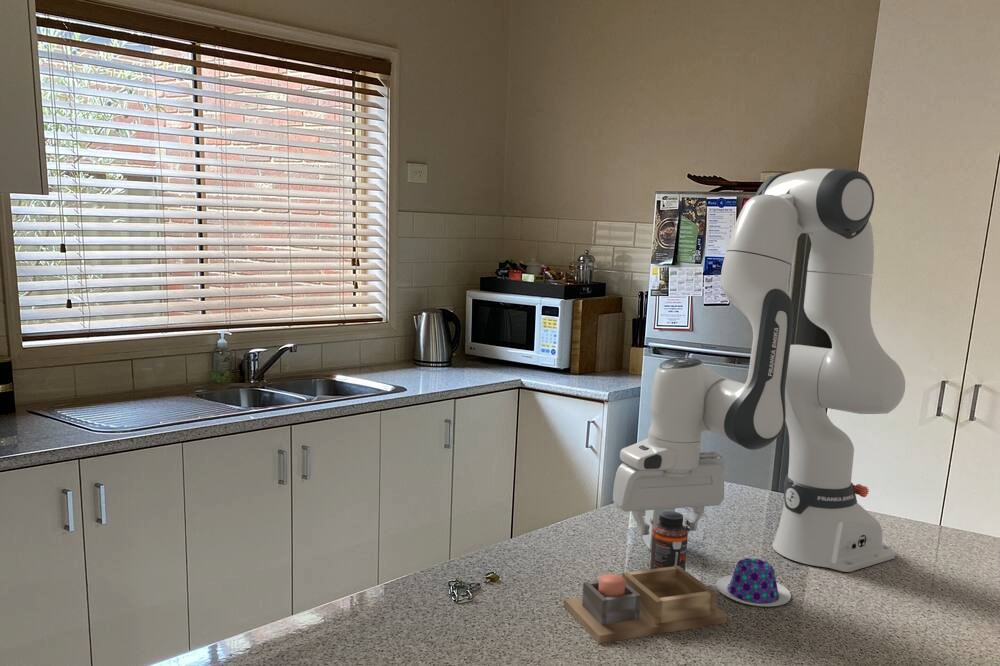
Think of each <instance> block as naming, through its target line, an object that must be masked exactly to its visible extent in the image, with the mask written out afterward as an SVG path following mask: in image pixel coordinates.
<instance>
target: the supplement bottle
mask: <svg viewBox="0 0 1000 666" xmlns="http://www.w3.org/2000/svg"><path fill="white" fill-rule="evenodd" d="M659 521H660V522H659V523H657V524H656V525H655V526H654V527H653V535H652V548H651V550H650V551H651V552H650V565H649V566H650V567H649V569H657V568H665V567H673V566H680V567H681V568H682V569H684V570H685V571H686V565H687V563H686V562H687V550H688V538H689V535H688V534H689V531H687V529H686V528H685V527H684V515H683V514H682V513H680V512H678V511H675V512H674V511H663V512H661V513H660V516H659Z"/></svg>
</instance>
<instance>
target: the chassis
mask: <svg viewBox="0 0 1000 666" xmlns="http://www.w3.org/2000/svg"><path fill="white" fill-rule="evenodd" d="M621 576H622V577H623V578H624V579H625V580H626V582H625V595H620V596H613V597H606V598H605V597H604V596H603V595H602V594H601V593H600V592H599V591H598V589H599V579H598V580H592V581H584V582H583V583H582V585H583V587H582V596H577V597H571V598H570V597H569V598H565V599H564V600H563V608H565V610H566V611H567V612H568V613H569V614H570V613H571V614H572V615H573V616H572V615H571V614H570V615H571V616H572V617H573V618H574V619H575V620H576V621H577V622H578V624H580V625H581V626H582V627H583V629H584V630H586V632H587V633H588V634H589V635H590V636H591V637H592V638H593V639H594V640H595V641H596V642H597V644H604V643H609V642H610V643H611V642H616V641H623V640H629V639H635V638H636V639H637V638H641V637H647V636H654V635H661V634H666V633H672V632H679V631H685V630H690V629H697V628H702V627H709V626H715V625H719V624H721V625H723V624H727V621H728V620H727V619H728V614H726V613H725V612H723V611H722V610H721V609H719V608H718V607H716V603H717V601H716V600H717V592H715V591H714V590H713V589H711V588H710V587H708V586H707V585H706V584H704V583H703V582H702V581H700V580H699V579H697V578H696V577H695V576H694V575H692V574H690V573H689V572H688V571H687V570H686V569H685V570H684V569H682V568H681V567H680V566H673V567H665V568H657V569H650V568H648V569H643V570H634V571H628V572H622V573H621Z"/></svg>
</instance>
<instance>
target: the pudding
mask: <svg viewBox="0 0 1000 666" xmlns="http://www.w3.org/2000/svg"><path fill="white" fill-rule="evenodd" d="M728 584H729V585H728ZM727 586H728V587H727ZM716 588H717V590H718V591H719V592H720V593H721V594H722V595H724V596H725V597H728V598H729V599H731V600H733V601H736V602H739V603H741V604H742V603H743V604H746V605H751V606H756V607H776V606H777V607H778V606H782V605H784V604H787V603H788V602H790V600H791V599H792V594H791V592H790V591H789V589H787V587H785V586H784V585H782V584H781V583H779V582H777V578H776V572H775V569H774V567H773V566H772V565H771V564H770V563H769V562H767V561H765V560H762V559H759V558H751V557H746V558H743V559H740V560H738V561H737V562H736V565H735V568H734V570H733V573H732V574H729V575H725V576H722V577H720V578H718V580H717V581H716ZM776 599H777V600H776Z"/></svg>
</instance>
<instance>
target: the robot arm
mask: <svg viewBox="0 0 1000 666" xmlns="http://www.w3.org/2000/svg"><path fill="white" fill-rule="evenodd" d="M874 204H875V192H874V188H873V187H872V184H871V182H870V179H869V178H868V177H867V175H866V174H864V173H862V172H861V171H859V170H857V169H852V168H848V167H847V168H846V167H838V168H821V167H820V168H808V169H806V170H800V171H795V172H782V173H778V174H776V175H774V176H773V175H772V176H770V177H769V178H767V179H766V180H765V181H763V182H762V183H761V185H760V186H759V187H758V189H757V191H756V193H755V196H752V197H751V198H749V199H748V200H747V201H746V202H745V203H744V204H743V206H742V209H741V210H740V213H739V214H738V217H737V219H736V221H735V224H734V226H733V228H732V232H731V235H730V237H729V240H728V244H727V247H726V250H725V255H724V257H723V262H722V265H721V266H722V267H721V272H720V287H721V289H722V291H723V293H724V295H725V297H726V298H727V299H728V300H729V302H730V303H731V304H732V305H733V306H734V307H735V308H737V309H738V310H739V311H740V312H741V313H743V315H745V317H746V318H747V319H748V321H749V323H750V326H751V328H752V336H753V337H752V344H751V351H750V360H749V365H748V374H747V379H746V381H745V383H744V382H740V381H736V380H734V379H730V378H727V377H725V376H723V375H720V374H719V373H717V372H716V371H713V370H712V369H710V368H709V367H708V366H706V365H705V363H704V362H703V361H702V360H701V359H699V358H694V357H682V356H681V357H675V358H670V359H666V360H664V361H662V362H661V363H660V364H659V365H658V367H657V368H656V371H655V374H654V377H653V381H652V382H653V383H652V388H651V395H650V397H651V398H650V407H649V408H650V416H651V423H650V426H649V428H648V431H647V432H648V433H647V438H645V439H643V440H641V441H639V442H635V443H634V444H631V445H628V446H625V447H623V448H621V449H620V451H619V459H620V460H621V461H622V463H621V464H620V465H619V466H618V467H617V470H616V473H615V478H614V481H613V482H614V483H613V489H612V491H613V492H612V501H613V503H614V505H615V506H616V507H617V508H619V509H620V510H621V511H623V512H625V513H628V512H631V515H632V517H633V519H634V520H635V523H636V528H635V529H636V533H637V534H638V535H639V536H643V535H648V534H649V528H650V525H648V524H646V523H645V522H644V520H645V519H643V517H645V511H646V510H659V509H673V508H675V509H683V508H684V509H685V508H690V509H691V512H690V514H689V516H688V518H683V526H684V527H685V528H686V529H687V531H688V532H696V531H697V530H698V522H699V521H700V519H701V517H702V516H703V515H704V513H705V507H714V506H716V507H717V506H721V504H722V502H723V501H724V500H725V477H724V476H725V475H724V469H725V459H724V457H723V456H722V455H721V454H720V453H718V452H717V451H708V452H706V451H701V446H702V433H703V432H704V431H709V432H711V433H713V434H715V435H716V436H717V435H718V436H720V437H723V438H726V439H728V440H730V441H732V442H734V443H735V444H737V445H739V446H741V447H743V448H744V449H746V450H752V451H754V450H760V449H764V448H765V447H767V446H769V445H770V444H772V443H773V442H774V441H775V440H776V439H777V438H778V437H779V436H780V435H781V433H782V431H783V430H784V427H785V424H786V427H787V432H788V441H789V442H788V443H789V445H788V446H789V451H788V453H789V455H788V456H789V457H788V471H787V474H785V478H784V484H783V485H784V487H783V497H784V501H783V507H782V511H781V515H780V519H779V520H780V521H779V524H778V528H777V530H776V534H775V537H774V539H773V542H772V548H773V550H774V551H775V552H777V554H779V555H781V556H783V558H787V559H789V560H791V561H795V562H798V563H800V564H804V565H808V566H809V565H810V566H815V567H821V568H829V569H833V570H836V571H839V572H844V573H846V572H847V573H851V572H853V571H854V572H855V571H857V570H861V569H864V568H867V567H870V566H875V565H876V564H880V563H885V562H886V561H890V560H893V559H896V553H895V551H894V550H893V549H892V548H891V547H890V546H888V545H886V544H885V543H884V542H883V530H882V528H883V527H882V526H881V523H880V522H879V521H878V520H877V518H875V517H874V516H873V515H872V514H871V513H869V511H867V510H866V509H865V508H864V507H863V506H862V505H861V504H860V503H858V500H857V495H858V496H860V497H862V498H867V496H868V495H869V492H870V490H869V488H868V486H865V485H862V484H860V483H857V484H853V482H852V475H853V467H854V454H855V447H854V444H853V441H852V440H851V438H850V436H848V434H847V433H845V431H843V430H842V429H840V428H839V427H838V426H836V425H835V424H834V423H833V422H832V421H831V419H830V418H829V416H828V413H827V409H831V410H836V411H842V412H848V413H853V414H859V415H881V414H882V415H885V414H886V415H887V414H889V413H890V412H892V411H894V410H895V409H896V408H897V407H898V406H899V405H900V403H901V402H902V400H903V398H904V395H905V392H906V380H905V379H906V378H905V375H904V372H903V370H902V369H901V367H900V365H899V364H898V363H897V361H895V360H894V359H893V358H892V357H891V356H889V354H888V353H887V352H886V351H885V350H884V349H883V347H882V346H881V344H880V342H879V340H878V338H877V336H876V335H875V332H874V328H873V325H872V320H871V303H872V302H871V299H872V298H871V297H872V284H873V275H874V274H873V273H874V260H875V256H874V253H875V252H874V250H875V249H874V248H875V246H874V244H875V243H874V234H873V226H872V224H871V222H870V218H871V216H872V213H873V209H874ZM802 234H807V235H808V237H809V240H810V243H811V246H810V252H809V256H808V261H807V270H806V271H807V272H806V279H805V280H806V281H805V290H804V300H803V301H804V302H803V311H804V313H805V315H806V317H807V319H808V320H809V321H810V322H811V323H812V324H814V325H815V326H817V327H819V328H820V329H822V330H823V331H824V332H826V334H827V335H828V337H829V339H830V342H831V348H828V347H827V348H826V347H820V346H811V345H806V344H805V345H803V344H792V335H793V328H794V326H793V325H794V304H793V301H792V299H791V297H790V294H789V278H790V274H791V273H790V272H791V268H792V262H793V259H794V254H795V250H796V244H797V240H798V239H799V237H800V235H802Z"/></svg>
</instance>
